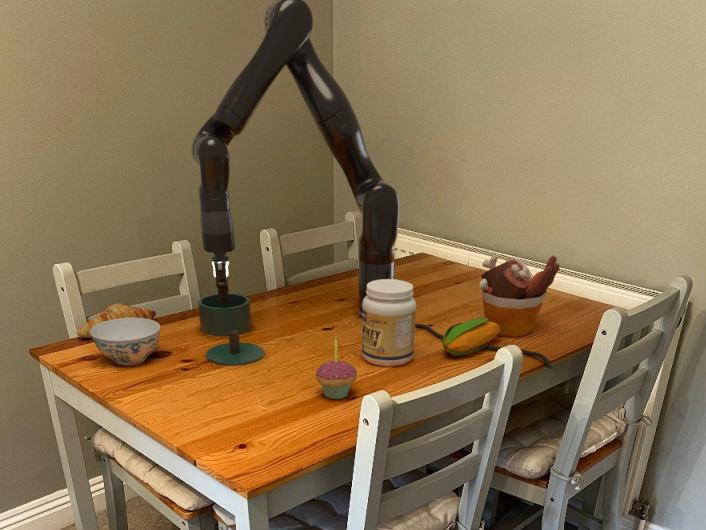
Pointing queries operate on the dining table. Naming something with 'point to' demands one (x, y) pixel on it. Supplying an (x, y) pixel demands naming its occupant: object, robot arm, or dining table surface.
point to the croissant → (115, 316)
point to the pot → (224, 315)
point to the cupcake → (336, 376)
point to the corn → (469, 336)
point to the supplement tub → (388, 322)
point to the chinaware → (126, 339)
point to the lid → (235, 352)
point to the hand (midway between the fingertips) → (224, 297)
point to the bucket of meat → (514, 294)
